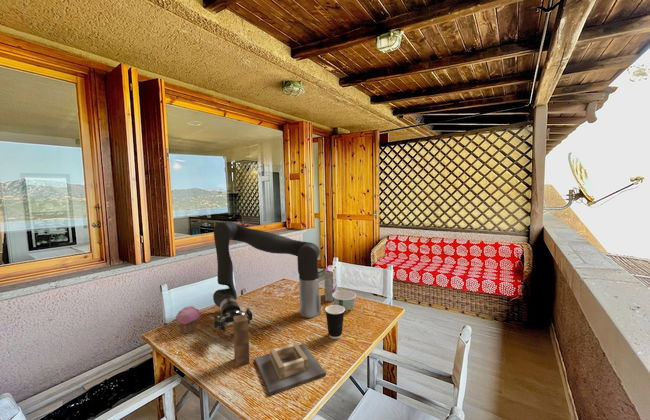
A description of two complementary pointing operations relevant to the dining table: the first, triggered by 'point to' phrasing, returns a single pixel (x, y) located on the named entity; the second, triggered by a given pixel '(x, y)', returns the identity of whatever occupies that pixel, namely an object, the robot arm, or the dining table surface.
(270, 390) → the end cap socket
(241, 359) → the walnut slat
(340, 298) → the food container
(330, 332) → the dixie cup
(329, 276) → the candy bar box
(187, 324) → the cupcake
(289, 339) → the dining table surface
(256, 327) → the dining table surface
